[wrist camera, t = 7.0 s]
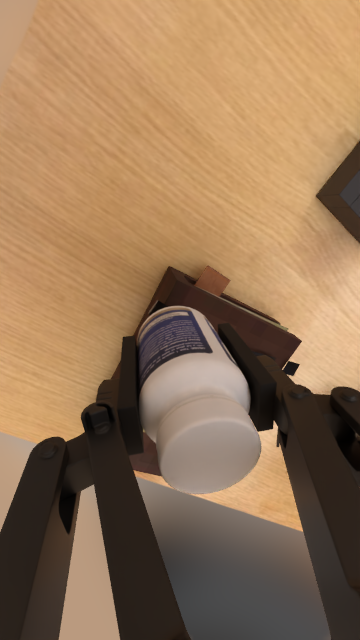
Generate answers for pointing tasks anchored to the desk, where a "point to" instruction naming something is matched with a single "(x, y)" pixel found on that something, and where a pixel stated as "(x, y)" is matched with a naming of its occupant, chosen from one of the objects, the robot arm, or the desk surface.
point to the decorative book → (218, 309)
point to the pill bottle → (194, 403)
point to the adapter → (345, 193)
